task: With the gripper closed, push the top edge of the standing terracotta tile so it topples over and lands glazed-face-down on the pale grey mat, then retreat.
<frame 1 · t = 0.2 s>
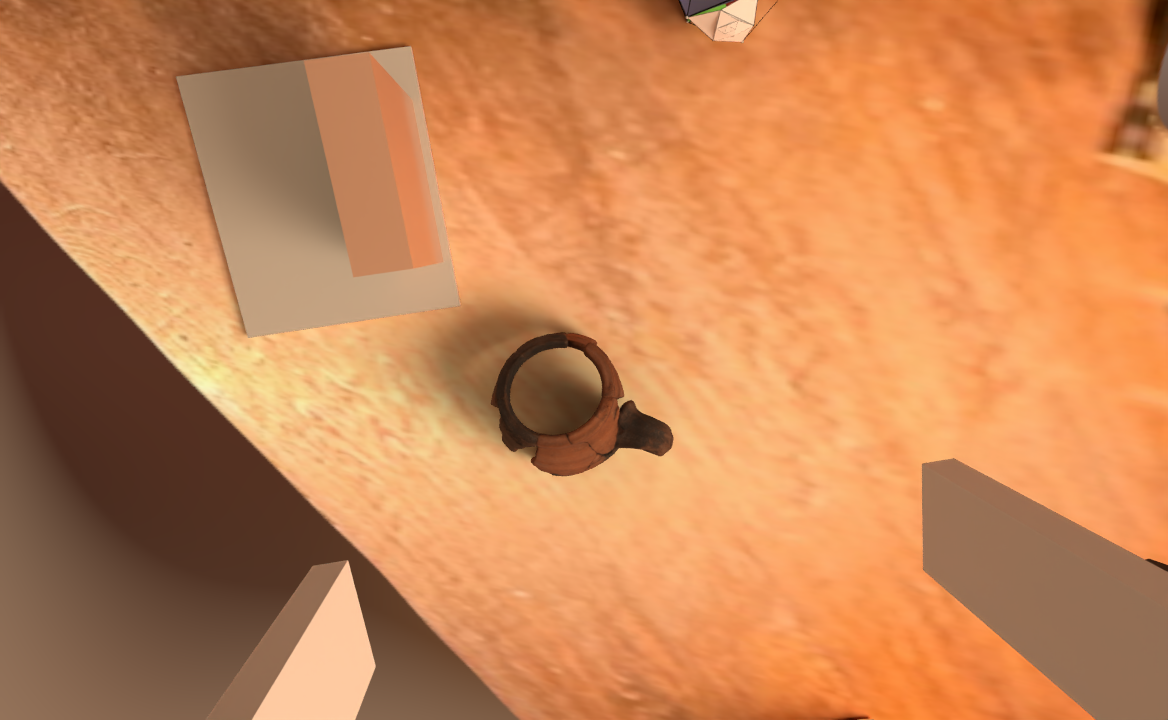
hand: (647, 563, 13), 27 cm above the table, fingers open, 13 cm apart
tile: (405, 186, 36), resting on mat
dark brown hollow piece: (578, 402, 40), on the table
mat: (328, 198, 36), on the table
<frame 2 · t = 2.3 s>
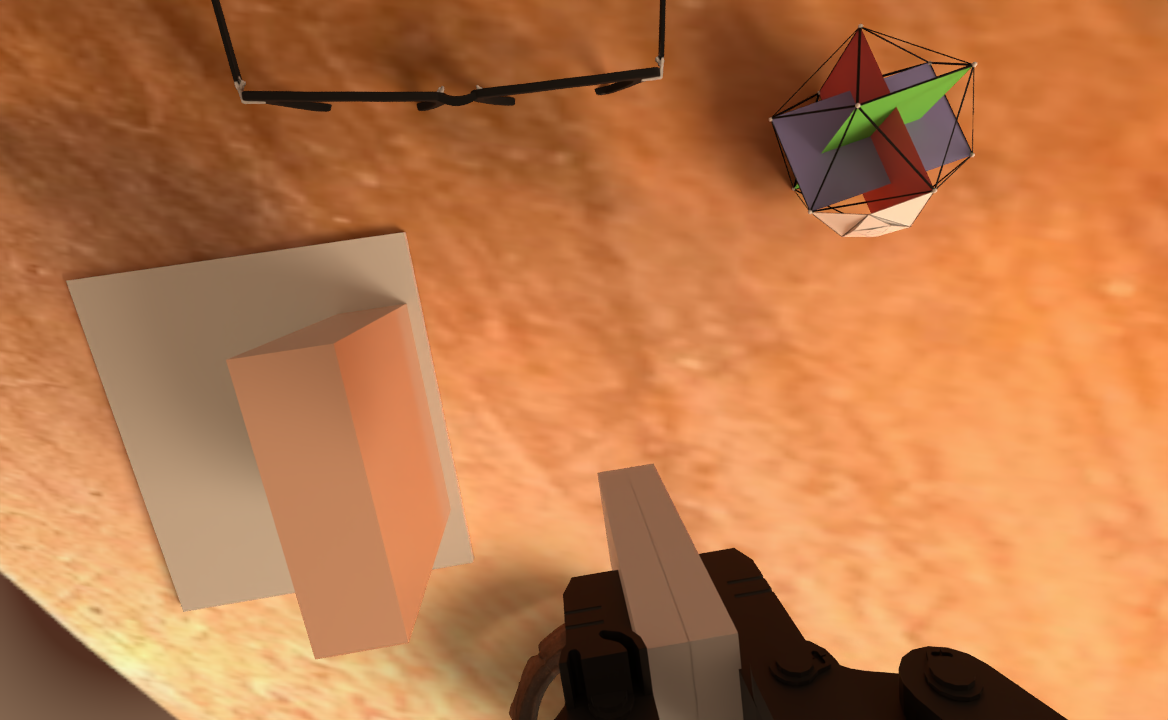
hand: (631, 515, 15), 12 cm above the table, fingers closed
geometric puzzle: (827, 148, 25), on the table
tile: (397, 416, 26), resting on mat
dark brown hollow piece: (622, 673, 31), on the table
mat: (290, 430, 26), on the table
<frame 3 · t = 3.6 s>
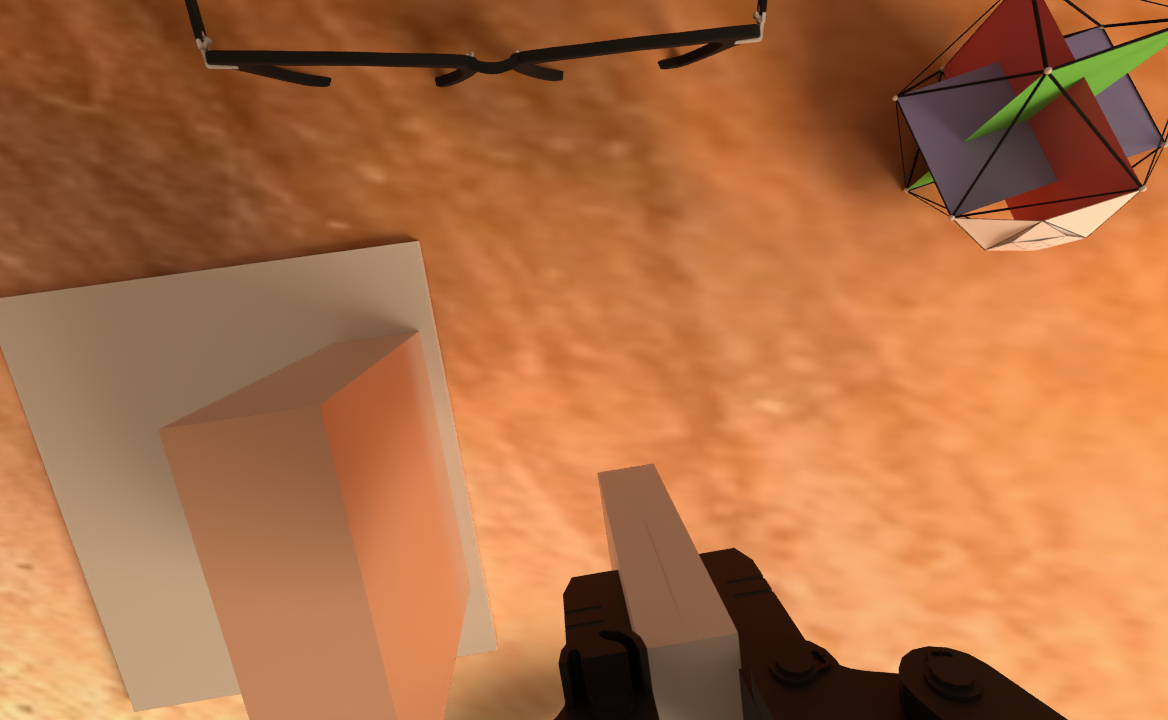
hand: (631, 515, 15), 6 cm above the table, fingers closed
geometric puzzle: (948, 139, 20), on the table
tile: (405, 471, 20), resting on mat
mat: (271, 488, 21), on the table
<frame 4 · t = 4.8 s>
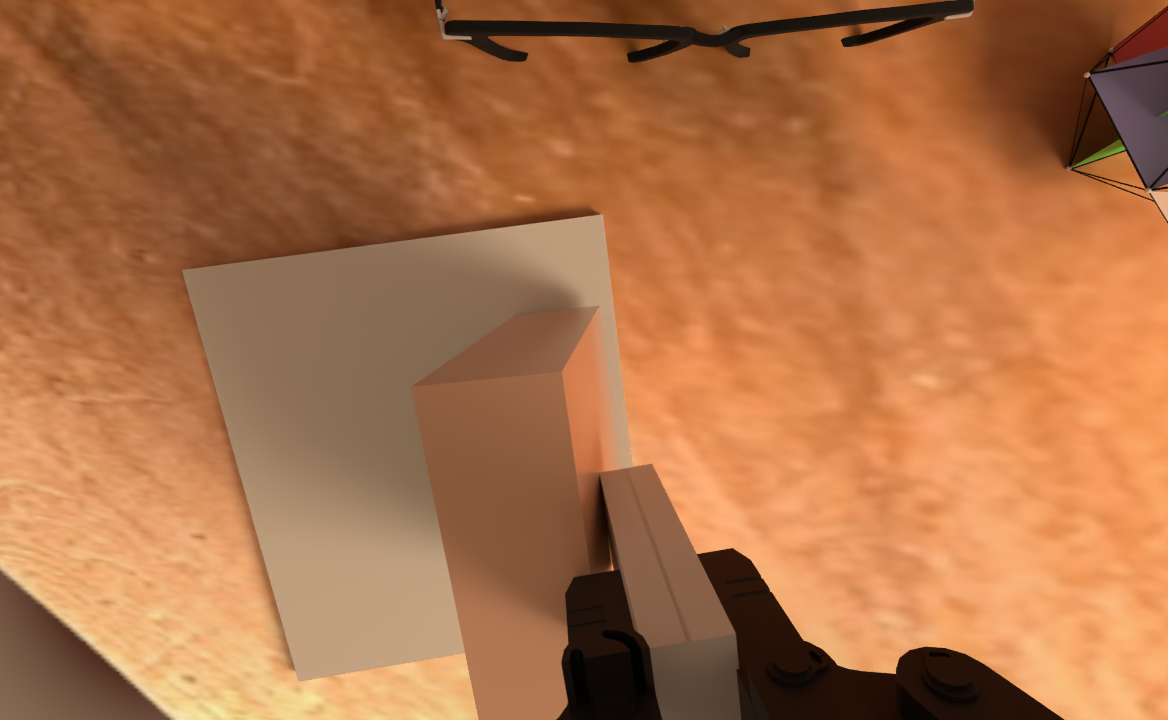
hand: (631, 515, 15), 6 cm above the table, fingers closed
geometric puzzle: (1110, 119, 21), on the table
tile: (575, 445, 21), point 1 cm above the table, tilted 11°, touching gripper, mat
mat: (442, 459, 21), on the table
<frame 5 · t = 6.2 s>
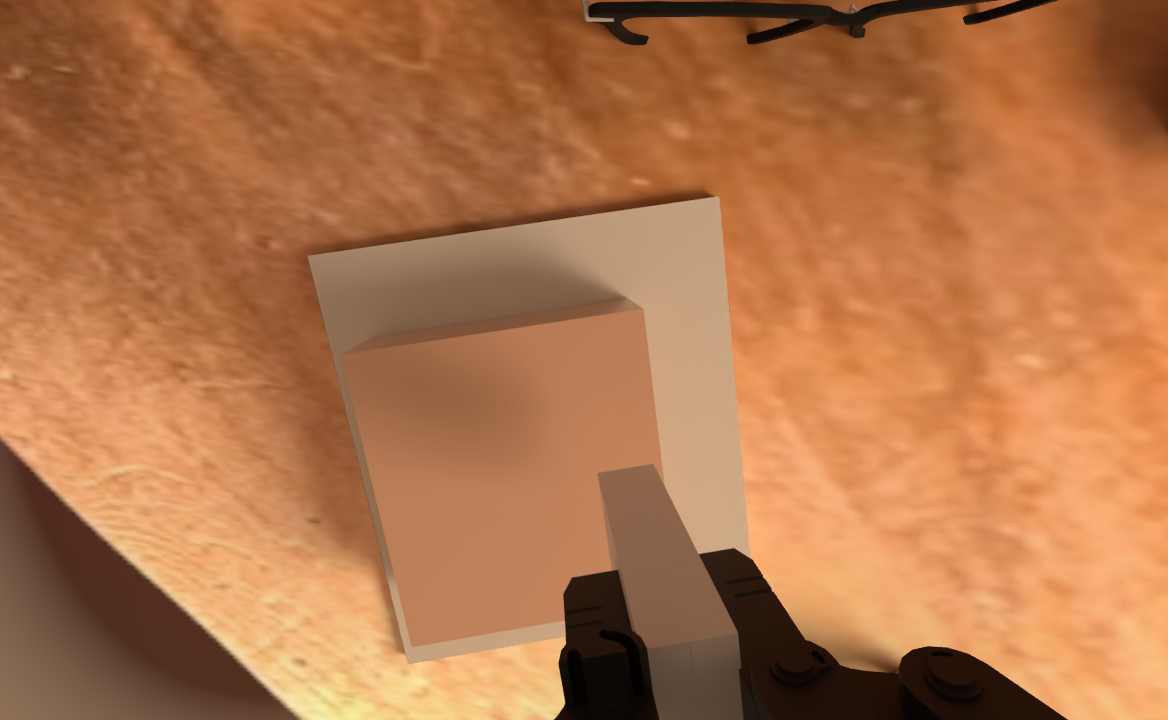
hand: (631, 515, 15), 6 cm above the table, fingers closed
tile: (652, 446, 19), point 2 cm above the table, tilted 90°, touching mat
mat: (552, 442, 21), on the table
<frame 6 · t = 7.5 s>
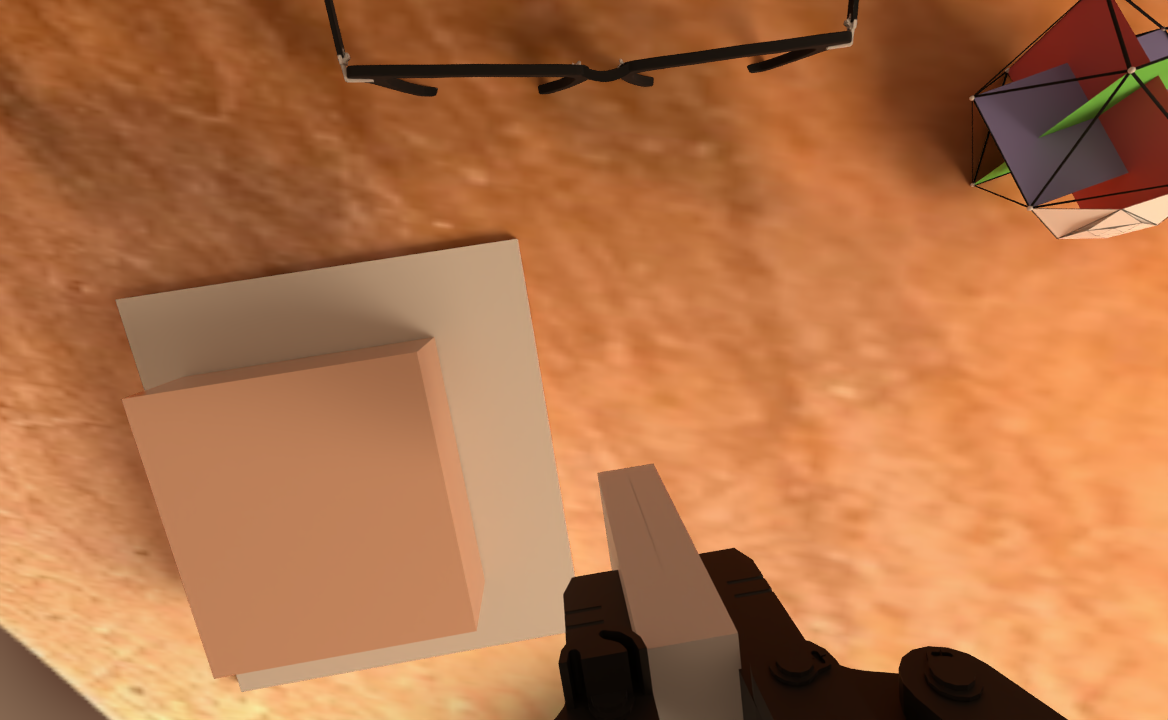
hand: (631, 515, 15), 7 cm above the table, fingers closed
geometric puzzle: (1011, 136, 21), on the table
tile: (455, 480, 20), point 2 cm above the table, tilted 90°, touching mat
mat: (373, 475, 22), on the table
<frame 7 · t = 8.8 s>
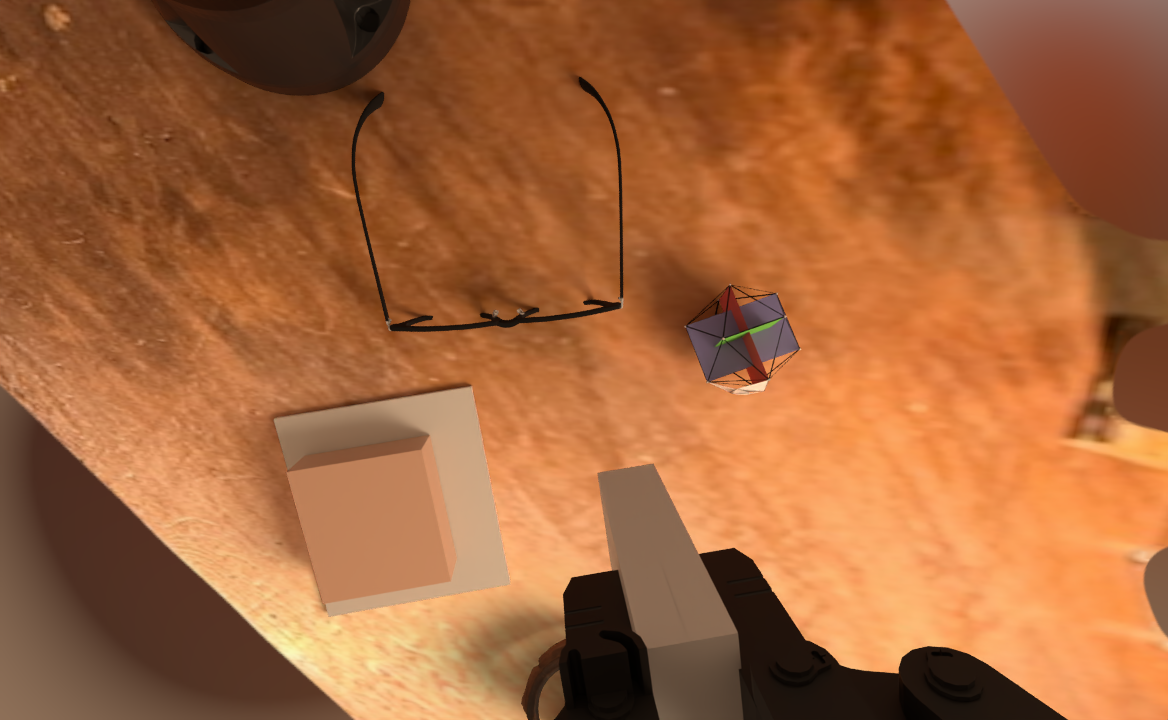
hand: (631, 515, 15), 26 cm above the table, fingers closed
geometric puzzle: (726, 329, 41), on the table
tile: (440, 507, 40), point 2 cm above the table, tilted 90°, touching mat
eyeglasses: (497, 207, 39), on the table
dark brown hollow piece: (595, 677, 47), on the table
mat: (398, 503, 42), on the table
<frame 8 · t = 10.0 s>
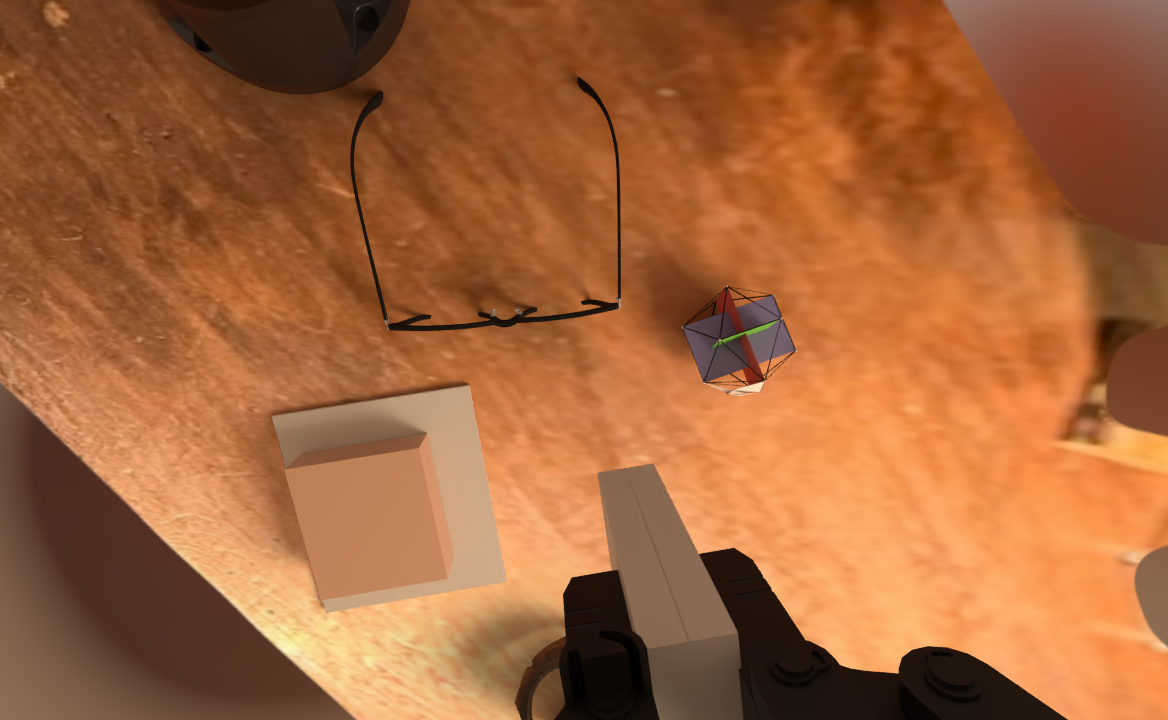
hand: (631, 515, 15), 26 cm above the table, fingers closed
geometric puzzle: (723, 330, 42), on the table
tile: (437, 505, 41), point 2 cm above the table, tilted 90°, touching mat
eyeglasses: (496, 207, 39), on the table
dark brown hollow piece: (588, 676, 47), on the table
mat: (396, 500, 42), on the table
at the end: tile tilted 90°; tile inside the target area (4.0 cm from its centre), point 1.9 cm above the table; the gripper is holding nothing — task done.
